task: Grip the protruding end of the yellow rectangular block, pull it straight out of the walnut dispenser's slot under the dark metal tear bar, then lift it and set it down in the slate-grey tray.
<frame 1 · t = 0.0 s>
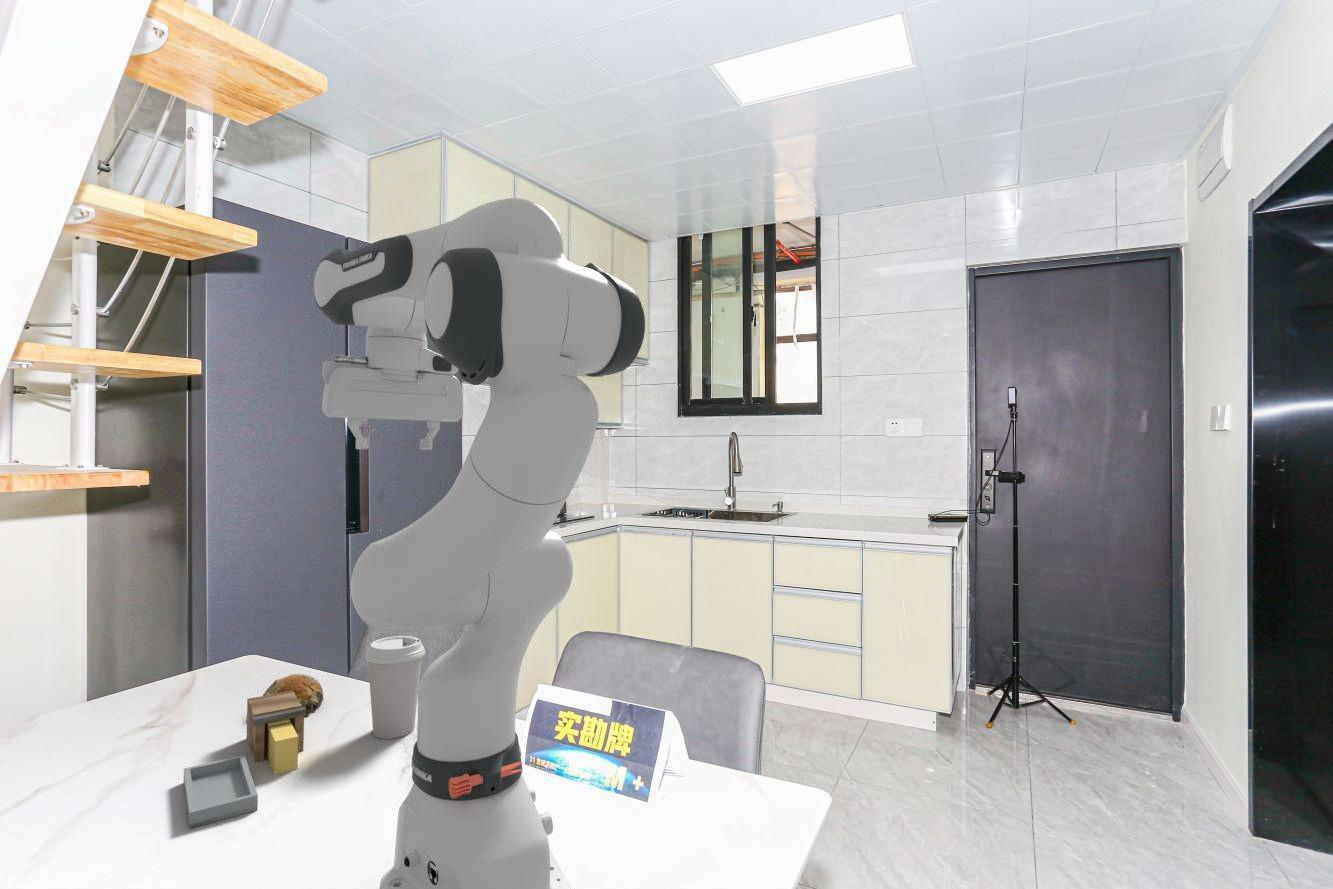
hand: (394, 449, 103), 48 cm above the table, fingers open, 8 cm apart
yellow rectangular block: (280, 759, 104), on the table
dispenser: (275, 745, 108), on the table
coffee cup: (393, 731, 115), on the table
tray: (219, 795, 93), on the table
bread roll: (293, 711, 123), on the table
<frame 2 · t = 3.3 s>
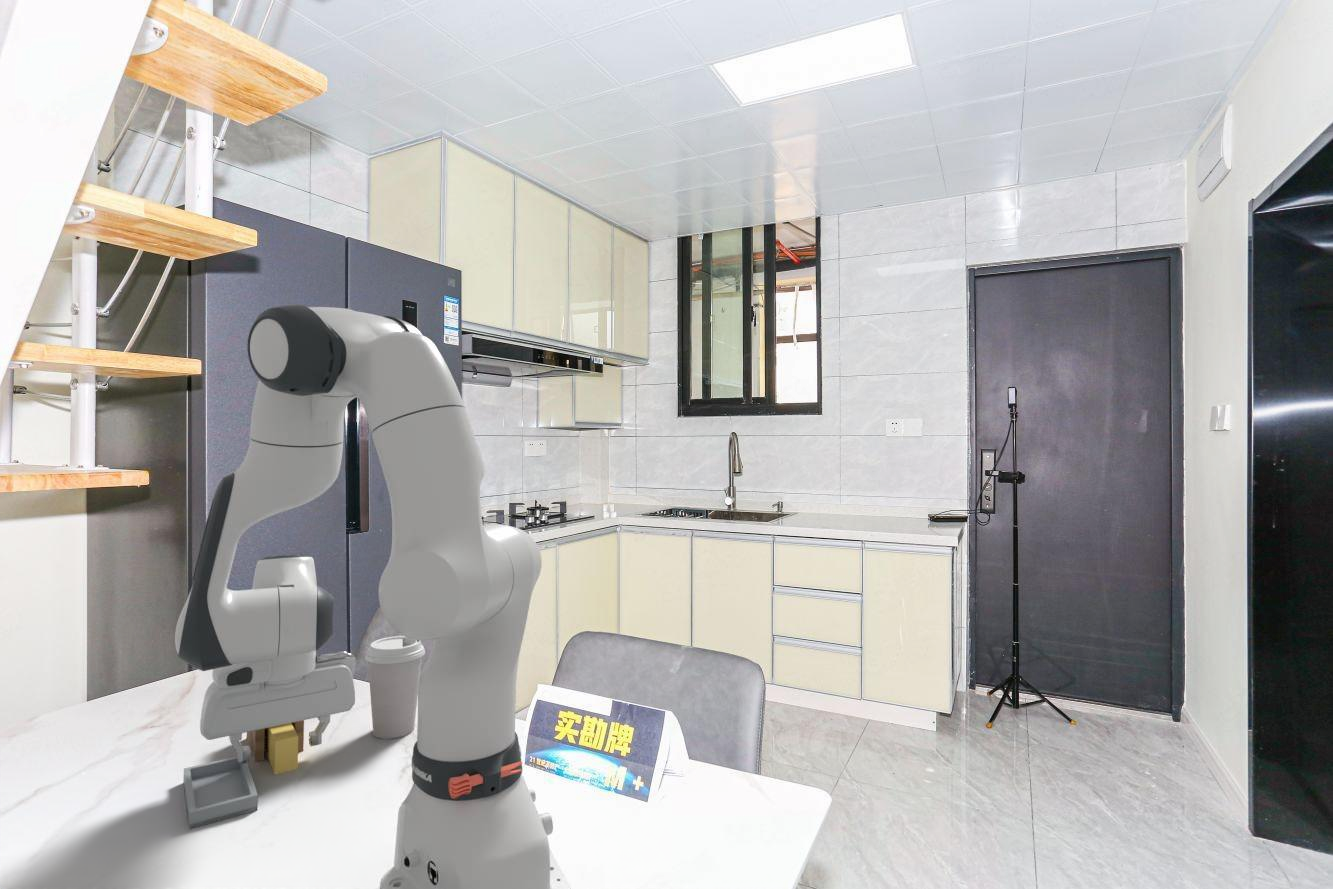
hand: (280, 752, 102), 2 cm above the table, fingers open, 8 cm apart
nothing on the table moved.
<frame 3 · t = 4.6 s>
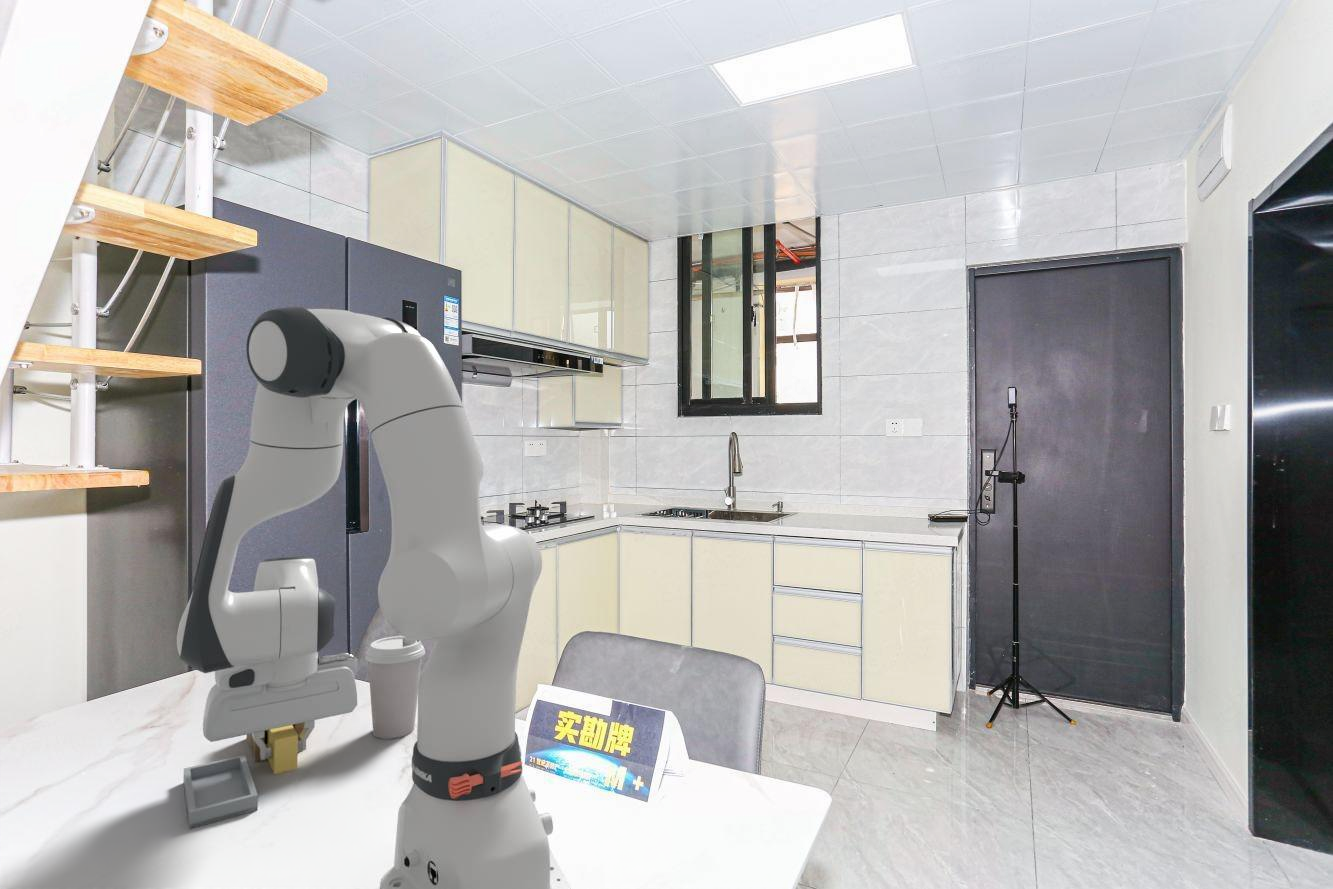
hand: (283, 753, 102), 2 cm above the table, fingers closed on yellow rectangular block, 3 cm apart
yellow rectangular block: (280, 758, 104), on the table, touching gripper
everything else where it was.
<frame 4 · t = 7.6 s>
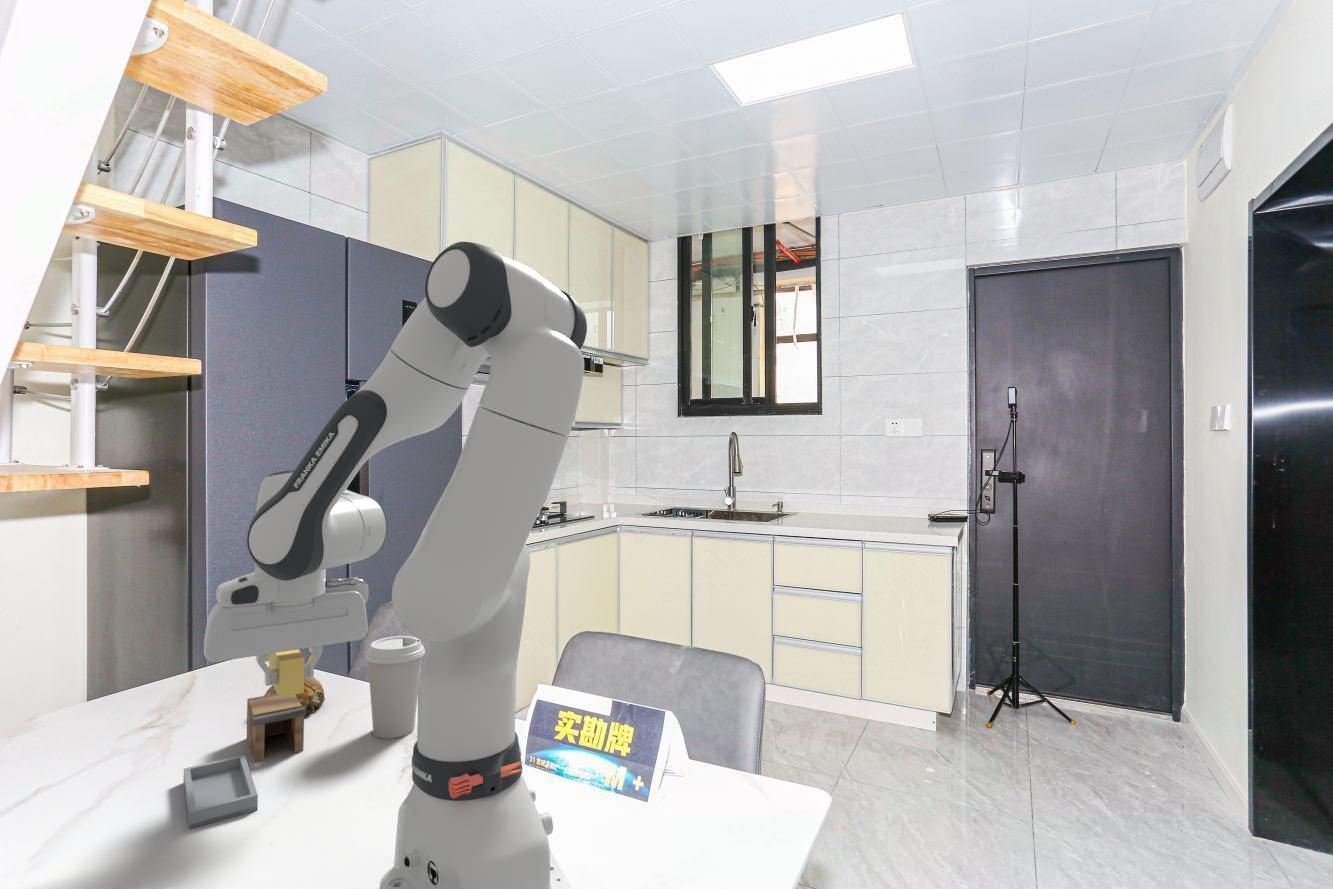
hand: (289, 680, 95), 15 cm above the table, fingers closed on yellow rectangular block, 3 cm apart
yellow rectangular block: (285, 684, 98), point 14 cm above the table, touching gripper
everything else where it was.
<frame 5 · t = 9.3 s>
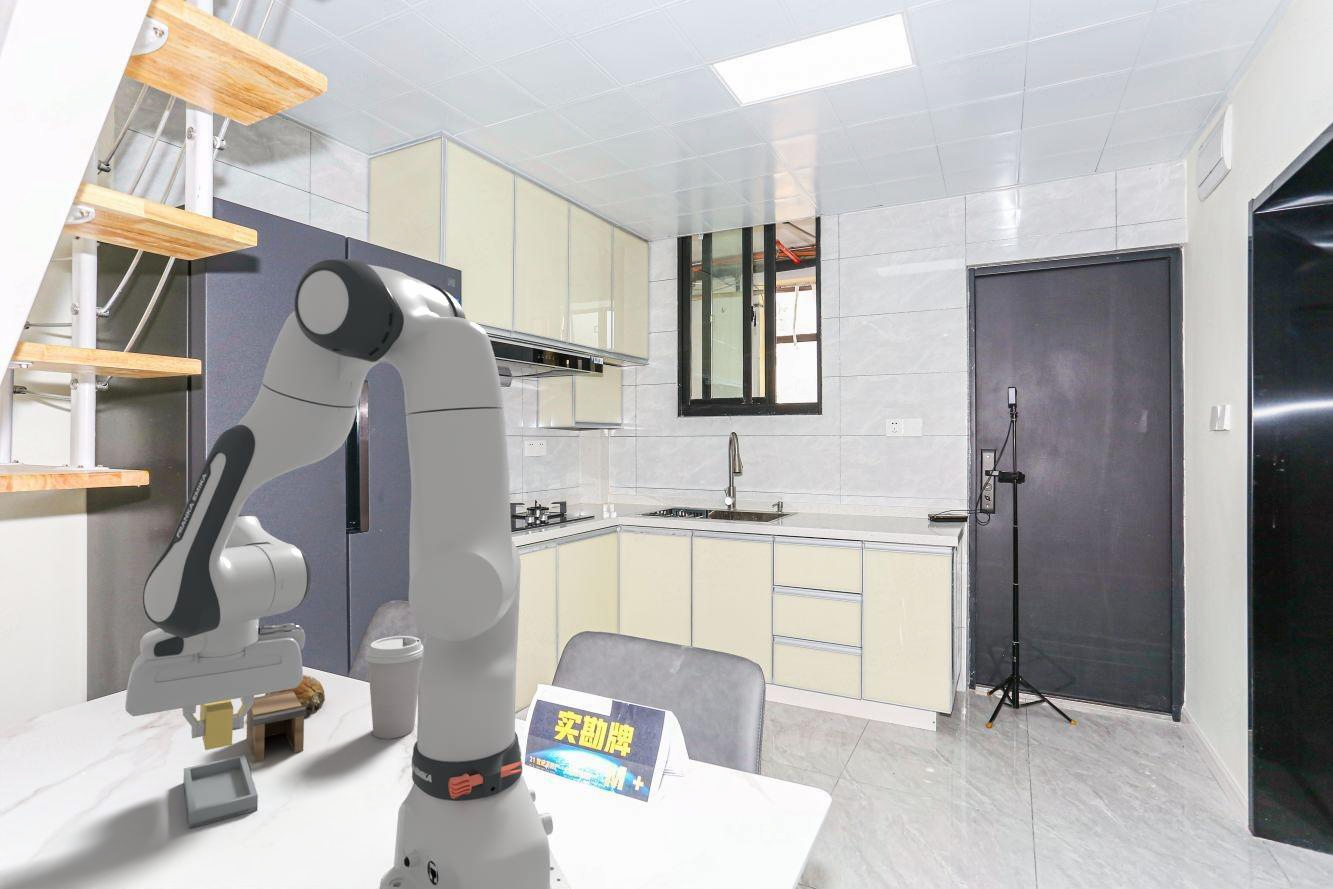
hand: (217, 732, 92), 9 cm above the table, fingers closed on yellow rectangular block, 3 cm apart
yellow rectangular block: (215, 734, 95), point 7 cm above the table, touching gripper
everything else where it was.
when the fingers open (4 cm above the table, at t = 10.9 s): yellow rectangular block stays where it is, resting on tray.
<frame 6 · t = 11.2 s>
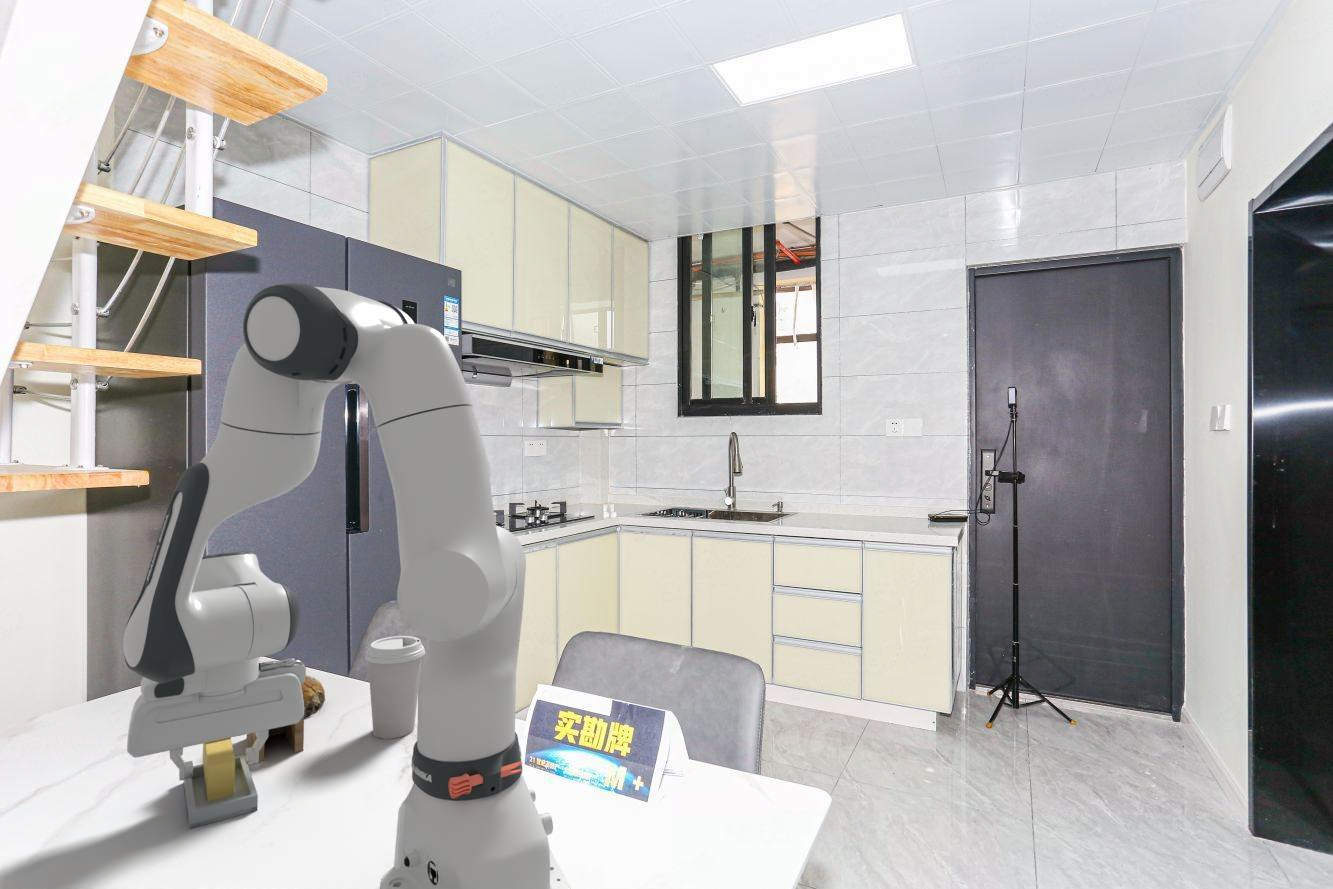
hand: (219, 769, 93), 4 cm above the table, fingers open, 6 cm apart
yellow rectangular block: (217, 777, 95), point 1 cm above the table, tilted 10°, touching tray
everything else where it was.
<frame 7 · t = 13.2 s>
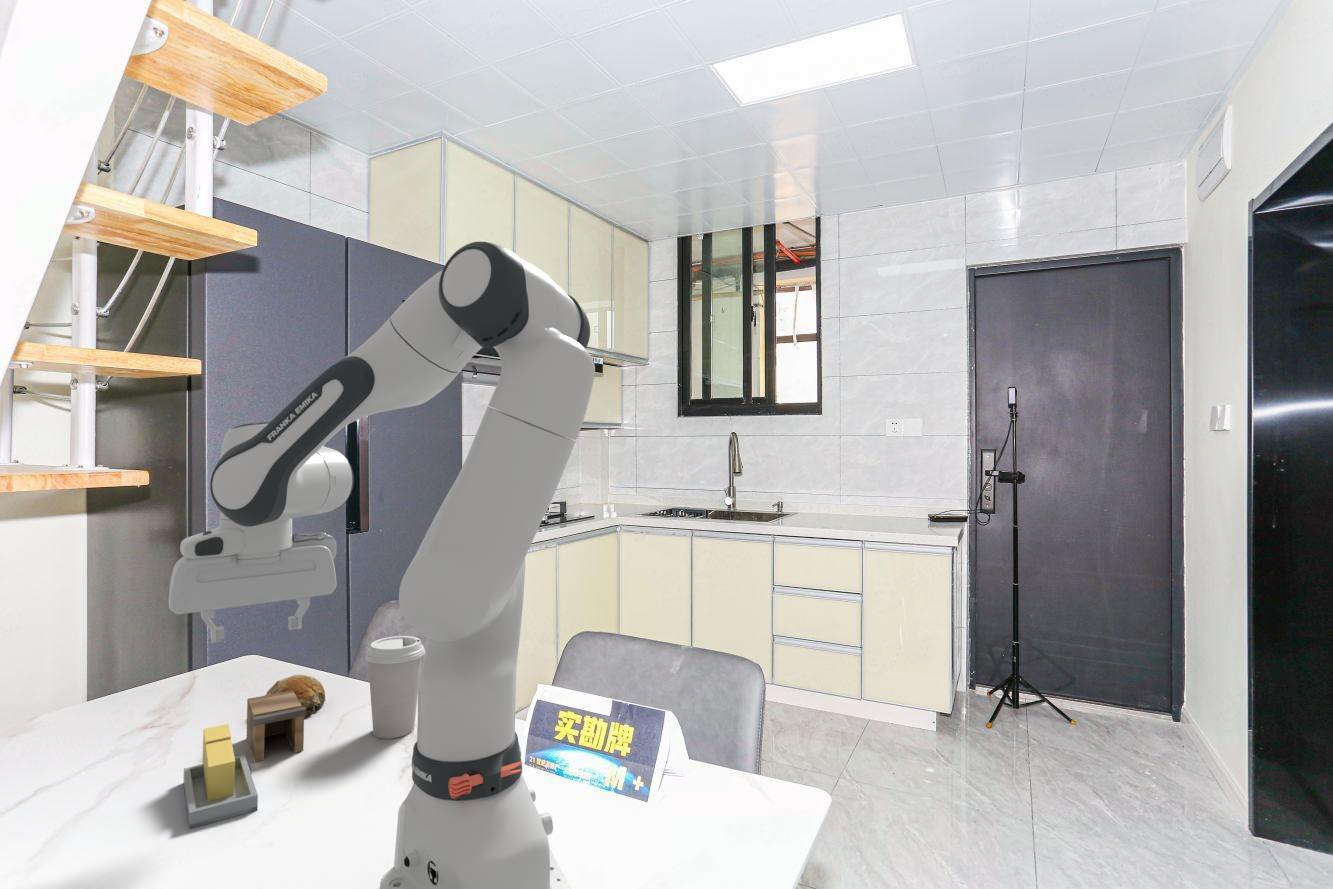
hand: (257, 635, 95), 21 cm above the table, fingers open, 8 cm apart
nothing on the table moved.
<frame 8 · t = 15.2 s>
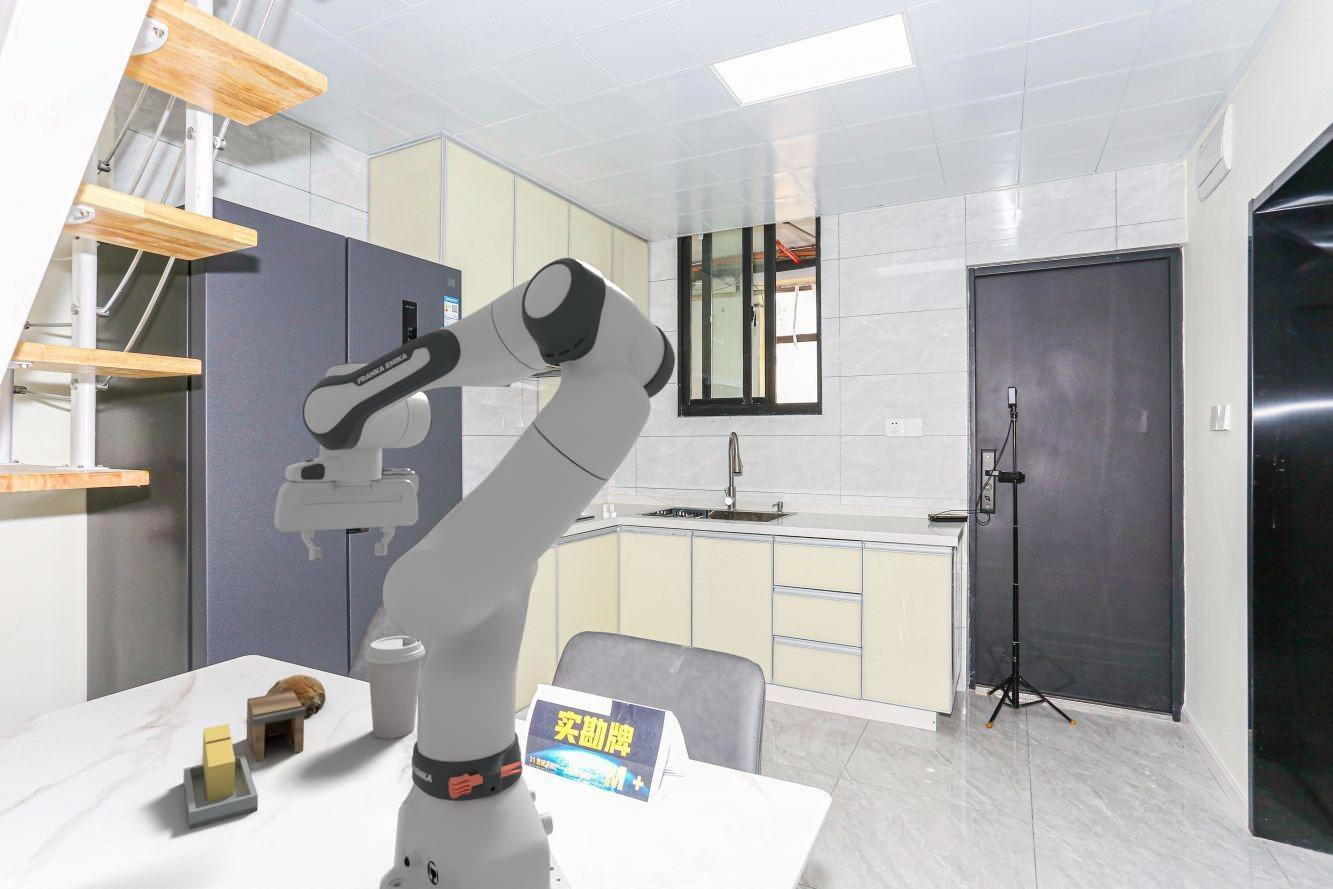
hand: (349, 557, 104), 31 cm above the table, fingers open, 8 cm apart
nothing on the table moved.
at the end: yellow rectangular block inside the target area on the tray (3.0 cm from its centre), point 1.4 cm above the tray's base; yellow rectangular block touching tray; the gripper is holding nothing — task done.
